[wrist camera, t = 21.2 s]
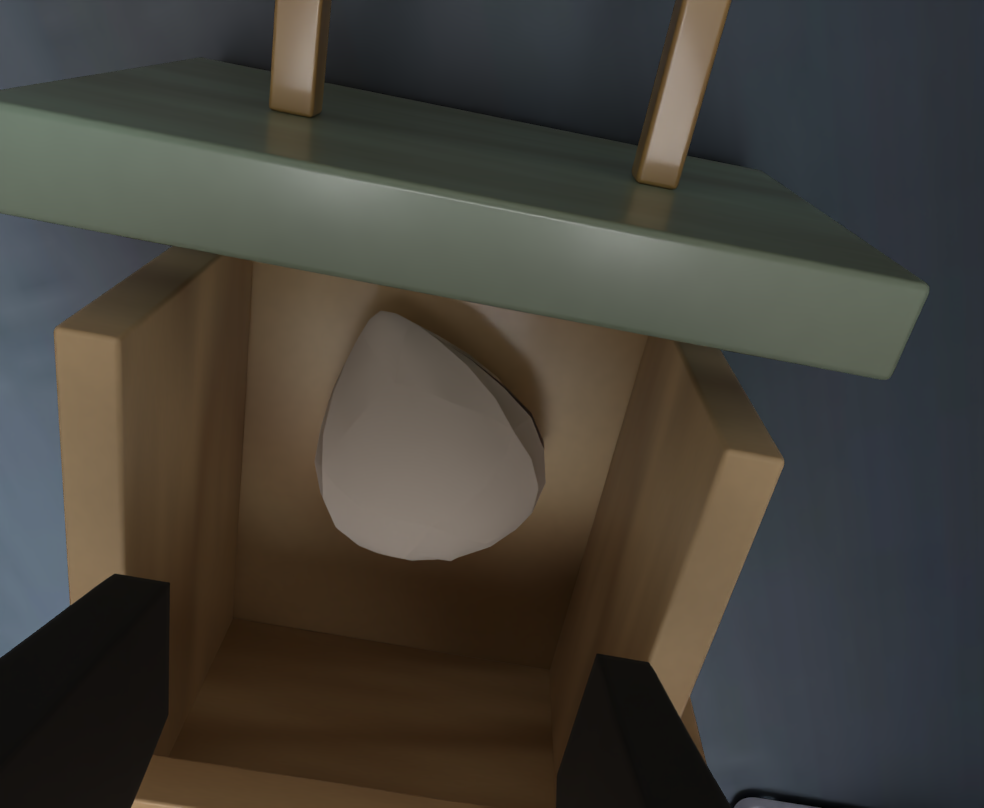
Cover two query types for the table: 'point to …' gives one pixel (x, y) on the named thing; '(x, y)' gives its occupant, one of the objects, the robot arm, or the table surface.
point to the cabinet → (282, 787)
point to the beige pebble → (425, 447)
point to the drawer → (464, 323)
